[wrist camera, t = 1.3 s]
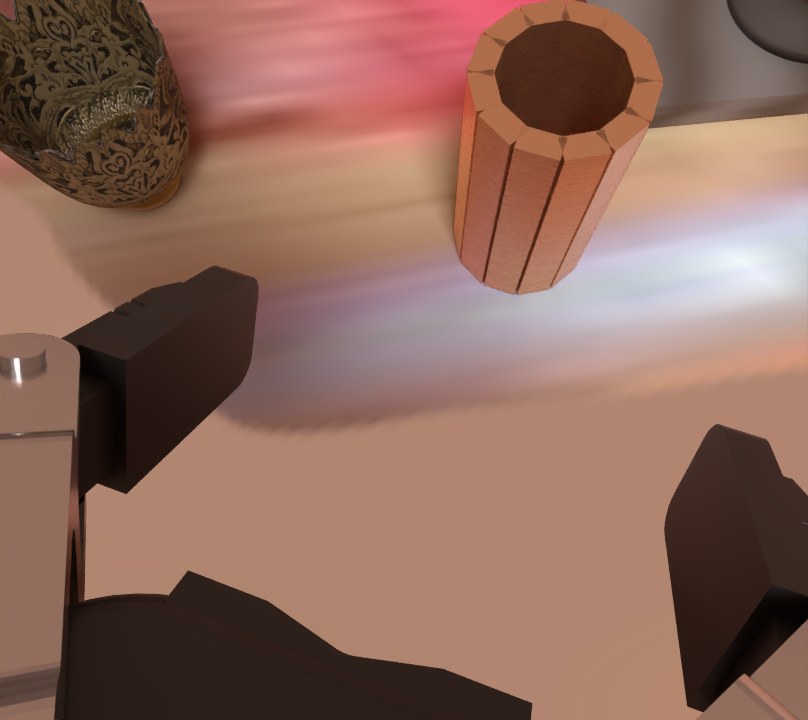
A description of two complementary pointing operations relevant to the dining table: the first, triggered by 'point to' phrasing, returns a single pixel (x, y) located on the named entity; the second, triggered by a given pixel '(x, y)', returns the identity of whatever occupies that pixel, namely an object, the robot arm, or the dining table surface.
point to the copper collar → (547, 138)
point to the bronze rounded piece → (92, 101)
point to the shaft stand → (723, 56)
